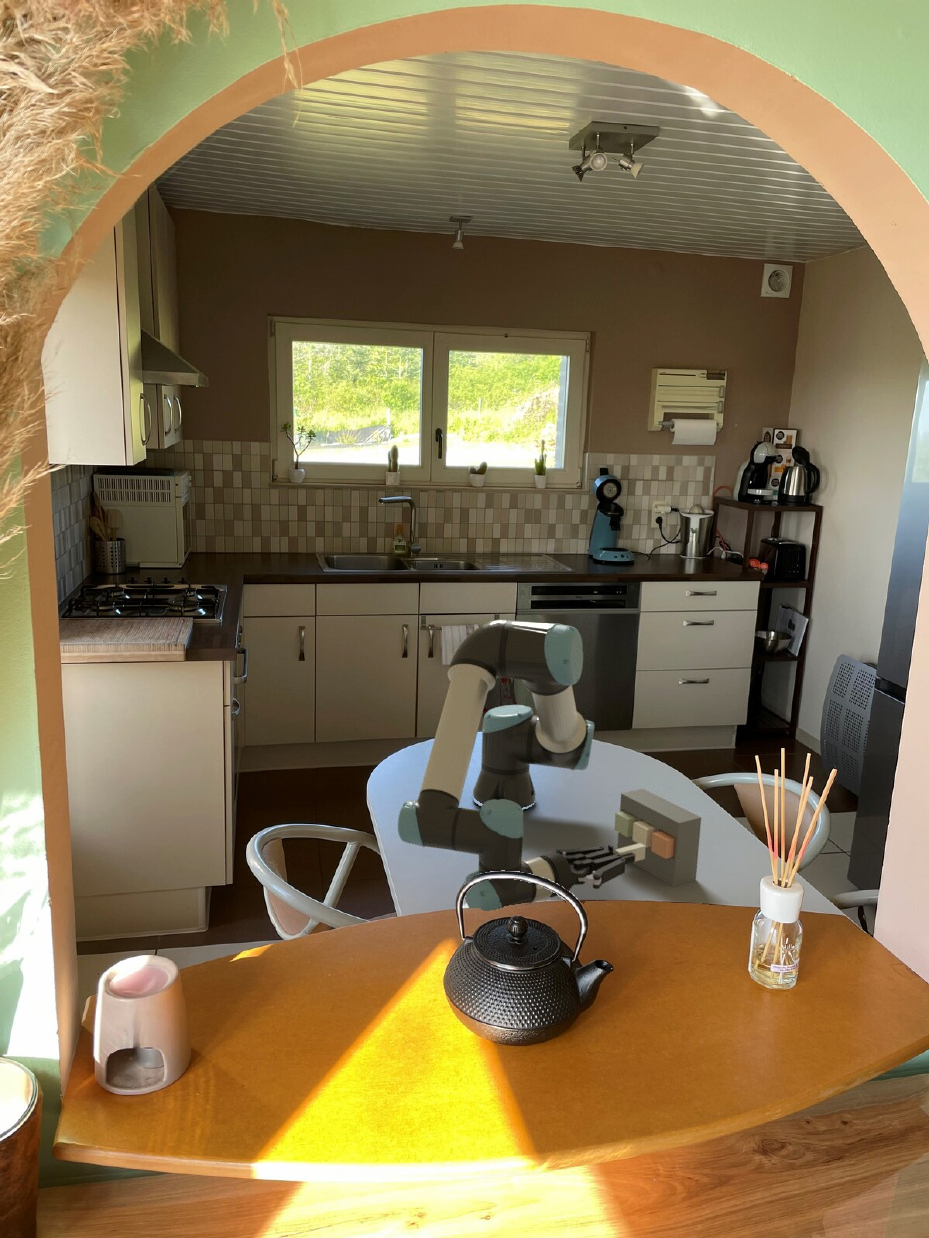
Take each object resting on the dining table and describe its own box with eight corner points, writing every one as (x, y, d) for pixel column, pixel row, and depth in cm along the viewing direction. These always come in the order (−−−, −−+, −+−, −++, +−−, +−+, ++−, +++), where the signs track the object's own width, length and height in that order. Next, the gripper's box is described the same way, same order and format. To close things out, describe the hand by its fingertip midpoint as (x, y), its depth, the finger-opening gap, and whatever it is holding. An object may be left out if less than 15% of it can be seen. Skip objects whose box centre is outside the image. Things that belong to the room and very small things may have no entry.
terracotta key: (651, 850, 185) (652, 832, 184) (666, 846, 187) (667, 829, 186) (665, 858, 182) (666, 840, 181) (680, 854, 184) (681, 836, 183)
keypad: (616, 855, 197) (621, 793, 195) (638, 849, 201) (642, 788, 198) (673, 889, 183) (679, 823, 181) (695, 882, 186) (701, 817, 184)
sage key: (614, 829, 194) (615, 812, 194) (628, 826, 196) (630, 809, 196) (627, 837, 191) (628, 819, 190) (641, 833, 193) (643, 816, 192)
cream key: (632, 840, 190) (633, 822, 189) (647, 836, 192) (648, 818, 191) (645, 847, 186) (647, 829, 186) (660, 843, 188) (661, 826, 188)
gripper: (522, 881, 175) (619, 855, 187) (564, 912, 164) (664, 882, 176) (524, 843, 173) (621, 820, 185) (567, 872, 162) (667, 845, 174)
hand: (642, 850), depth 181 cm, fingers closed
